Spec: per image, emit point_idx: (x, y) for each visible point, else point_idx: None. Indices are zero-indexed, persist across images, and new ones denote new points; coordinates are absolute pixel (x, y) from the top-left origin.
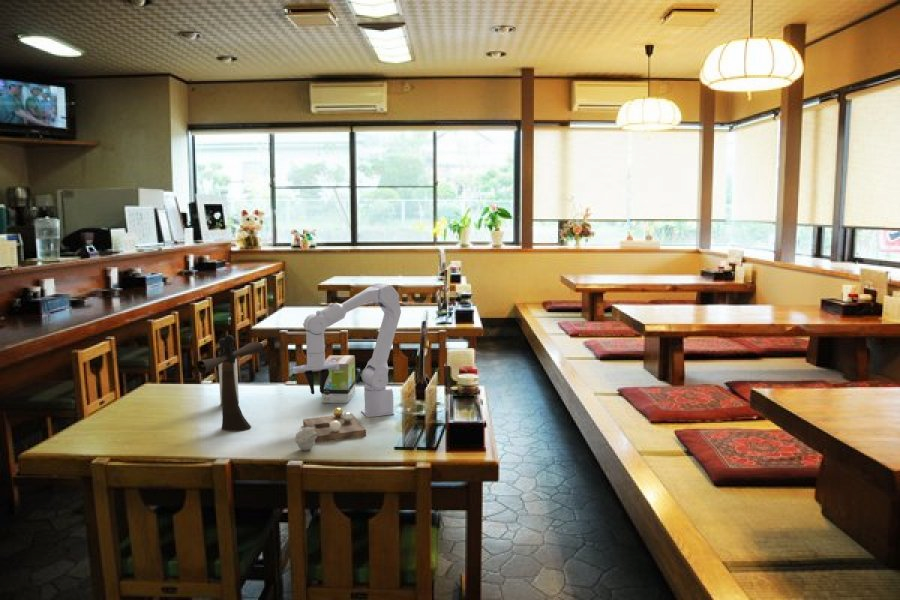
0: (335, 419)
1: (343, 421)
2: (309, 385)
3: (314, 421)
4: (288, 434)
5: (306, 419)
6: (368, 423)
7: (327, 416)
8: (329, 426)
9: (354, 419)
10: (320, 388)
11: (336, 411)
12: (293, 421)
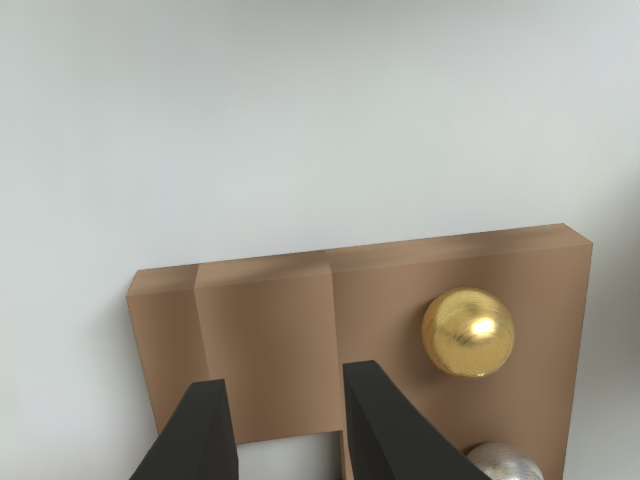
0: (413, 371)
1: (461, 429)
2: (138, 475)
3: (232, 379)
4: (27, 443)
5: (160, 313)
6: (634, 353)
7: (363, 278)
8: (342, 447)
9: (553, 403)
10: (358, 458)
11: (452, 374)
12: (34, 130)
